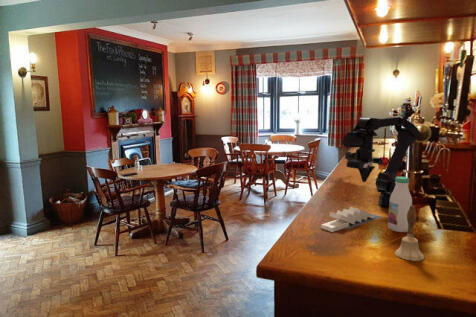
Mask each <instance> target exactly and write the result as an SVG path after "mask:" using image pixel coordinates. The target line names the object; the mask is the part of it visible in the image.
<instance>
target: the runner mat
mask: <svg viewBox="0 0 476 317" xmlns="http://www.w3.org/2000/svg"><path fill="white" fill-rule="evenodd" d="M372 214H373V218H369V217H367V220H363V219H362V220H361V222H357V221H355V224H351V223H349V227H346V228H344V229H346V230H349V229H353V228H355V227H358V226H361V225H364V224H367V223H369V222H373V221H375V220H378V219H382V218H383V216H382V215H377V214H374V213H372Z"/></svg>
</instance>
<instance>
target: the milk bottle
mask: <svg viewBox="0 0 476 317" xmlns="http://www.w3.org/2000/svg"><path fill="white" fill-rule="evenodd" d="M395 183H396V186H395V188H394V190H393V192H392V194H391V196H390V202H389V208H388V220H387V227H388V229H389V230H391V231H394V232H397V233H398V232H399V233H407V232H408V222H407V213H408V210H409V208H410V206H411V205H412V206H413V199H412V195H411V193H410V190H409V184H410V178H409V177H407V176H397V177H396V178H395Z"/></svg>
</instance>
